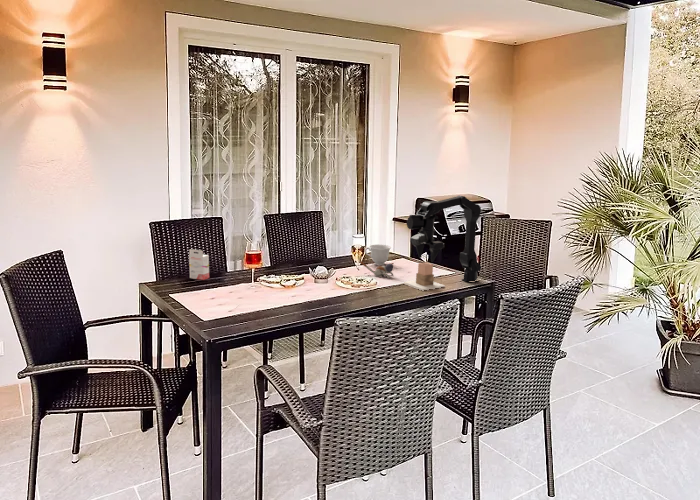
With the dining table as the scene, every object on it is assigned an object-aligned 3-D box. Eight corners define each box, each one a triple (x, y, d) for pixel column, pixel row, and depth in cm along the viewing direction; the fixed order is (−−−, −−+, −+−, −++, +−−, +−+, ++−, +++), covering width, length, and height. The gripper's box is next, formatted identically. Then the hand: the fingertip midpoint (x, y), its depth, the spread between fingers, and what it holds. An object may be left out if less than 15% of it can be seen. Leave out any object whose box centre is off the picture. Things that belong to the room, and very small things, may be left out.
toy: (386, 284, 299) (395, 268, 296) (356, 266, 301) (365, 250, 298) (389, 280, 308) (399, 264, 305) (360, 262, 310) (369, 246, 307)
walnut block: (425, 281, 291) (425, 271, 290) (433, 284, 286) (433, 274, 285) (415, 283, 287) (416, 273, 286) (423, 286, 282) (424, 275, 281)
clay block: (425, 272, 289) (426, 262, 288) (432, 274, 285) (433, 264, 284) (417, 273, 286) (418, 263, 285) (424, 275, 282) (425, 265, 281)
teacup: (361, 262, 333) (362, 244, 331) (386, 261, 337) (387, 244, 335) (367, 267, 322) (367, 249, 320) (393, 266, 325) (393, 248, 323)
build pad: (426, 280, 296) (426, 278, 296) (444, 287, 285) (445, 285, 285) (404, 284, 289) (404, 282, 288) (422, 291, 277) (422, 289, 277)
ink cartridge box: (209, 278, 290) (209, 248, 287) (203, 280, 285) (203, 250, 282) (195, 276, 293) (194, 247, 290) (189, 278, 288) (188, 249, 285)
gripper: (402, 226, 284) (400, 257, 287) (427, 232, 269) (425, 265, 272) (420, 224, 290) (418, 255, 293) (445, 230, 275) (443, 263, 278)
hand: (425, 259), depth 284 cm, fingers open, 9 cm apart
